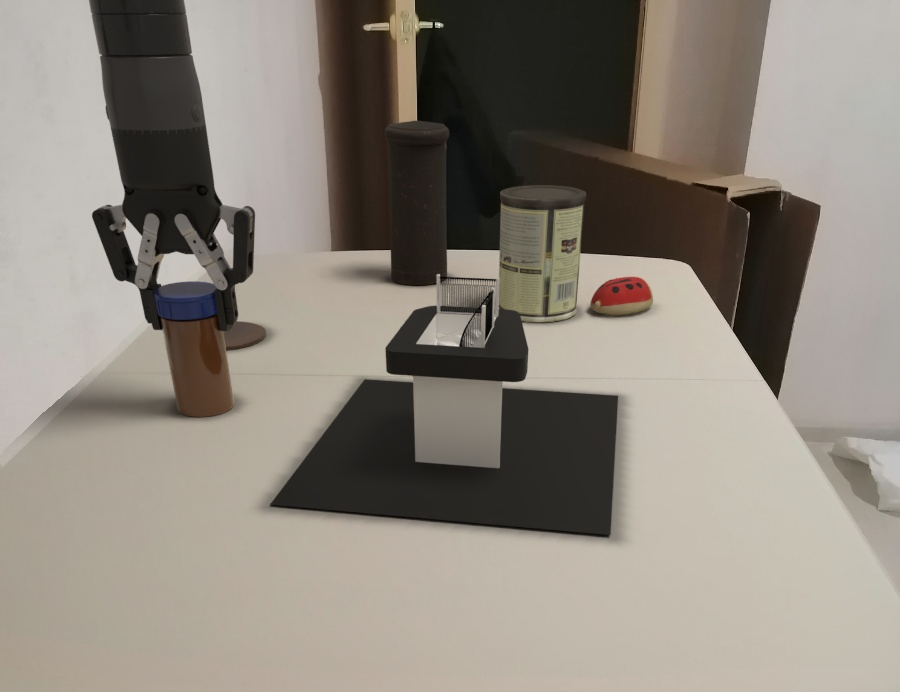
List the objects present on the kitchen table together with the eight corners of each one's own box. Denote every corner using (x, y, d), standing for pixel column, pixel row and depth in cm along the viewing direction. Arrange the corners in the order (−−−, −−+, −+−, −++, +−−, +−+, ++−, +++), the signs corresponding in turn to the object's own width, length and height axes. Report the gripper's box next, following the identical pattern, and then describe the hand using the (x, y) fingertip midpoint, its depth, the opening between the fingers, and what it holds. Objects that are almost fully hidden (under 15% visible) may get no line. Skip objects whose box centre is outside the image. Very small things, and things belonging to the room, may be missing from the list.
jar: (169, 416, 81) (146, 302, 74) (188, 395, 85) (169, 286, 79) (224, 418, 80) (206, 304, 74) (241, 397, 85) (225, 288, 79)
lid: (148, 319, 75) (143, 297, 74) (169, 301, 80) (166, 280, 79) (211, 320, 75) (207, 298, 74) (229, 302, 80) (226, 281, 78)
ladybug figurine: (664, 307, 111) (668, 278, 109) (618, 322, 105) (621, 293, 103) (622, 296, 115) (625, 269, 113) (576, 311, 109) (578, 282, 107)
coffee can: (513, 296, 115) (518, 182, 107) (586, 305, 111) (597, 188, 103) (484, 316, 107) (486, 195, 99) (561, 327, 103) (570, 201, 95)
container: (455, 272, 125) (456, 118, 114) (441, 288, 118) (440, 125, 107) (399, 269, 127) (394, 116, 116) (382, 284, 120) (375, 123, 108)
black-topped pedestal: (610, 536, 62) (632, 357, 54) (270, 506, 66) (246, 334, 58) (618, 396, 84) (634, 256, 77) (364, 380, 88) (356, 245, 81)
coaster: (167, 349, 97) (167, 346, 96) (196, 323, 105) (196, 320, 105) (253, 352, 96) (252, 348, 96) (275, 325, 104) (275, 322, 104)
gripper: (256, 117, 72) (279, 318, 81) (91, 116, 72) (133, 315, 82) (231, 126, 65) (259, 342, 75) (51, 125, 66) (102, 339, 76)
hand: (193, 327), depth 78 cm, fingers closed on lid, 5 cm apart
